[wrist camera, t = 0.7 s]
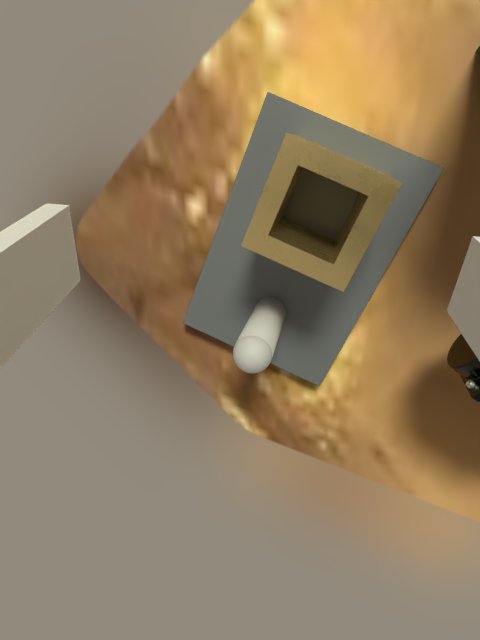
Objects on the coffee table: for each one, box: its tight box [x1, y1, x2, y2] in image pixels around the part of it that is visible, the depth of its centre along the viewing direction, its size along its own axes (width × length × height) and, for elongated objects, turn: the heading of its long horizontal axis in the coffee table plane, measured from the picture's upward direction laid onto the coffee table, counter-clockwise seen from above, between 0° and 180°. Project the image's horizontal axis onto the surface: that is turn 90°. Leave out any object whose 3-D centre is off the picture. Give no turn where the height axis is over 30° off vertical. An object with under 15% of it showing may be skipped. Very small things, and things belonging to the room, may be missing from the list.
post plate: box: [183, 92, 444, 386], centre depth 34 cm, size 15×22×12 cm
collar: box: [241, 133, 402, 292], centre depth 33 cm, size 8×8×8 cm
